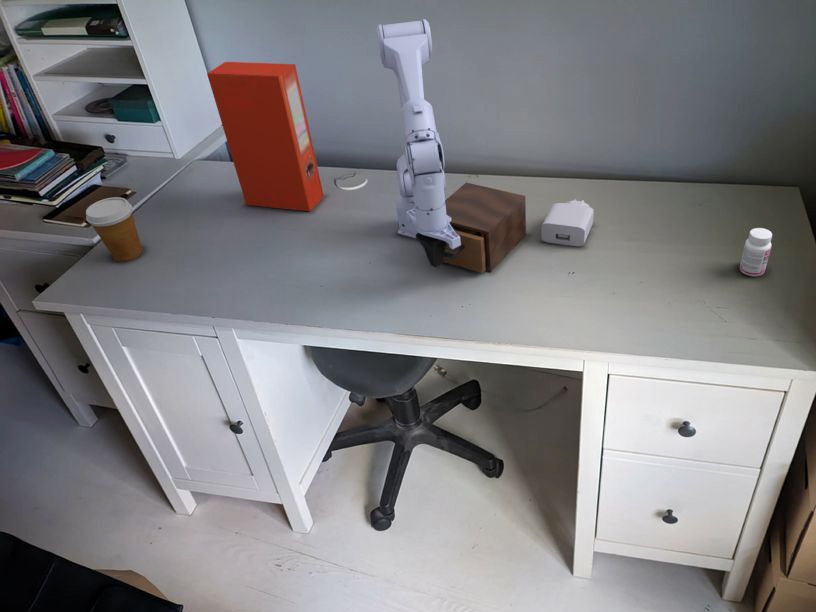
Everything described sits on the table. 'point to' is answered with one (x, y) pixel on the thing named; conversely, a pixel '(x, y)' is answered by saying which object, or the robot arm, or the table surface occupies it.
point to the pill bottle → (756, 252)
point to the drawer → (468, 252)
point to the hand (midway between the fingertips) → (436, 264)
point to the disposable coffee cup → (115, 227)
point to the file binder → (267, 134)
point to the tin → (466, 231)
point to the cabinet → (489, 218)
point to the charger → (568, 223)
